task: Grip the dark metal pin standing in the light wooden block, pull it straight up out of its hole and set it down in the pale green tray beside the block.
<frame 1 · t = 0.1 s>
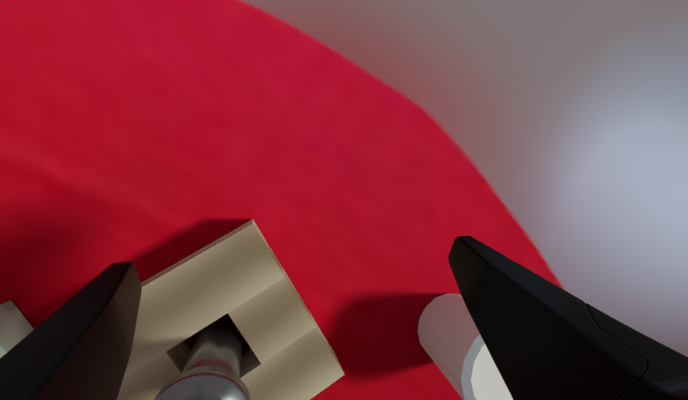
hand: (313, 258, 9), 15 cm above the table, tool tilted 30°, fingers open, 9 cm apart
pin: (212, 371, 19), in the hole block
cup: (446, 325, 28), on the table
hole block: (220, 336, 23), on the table
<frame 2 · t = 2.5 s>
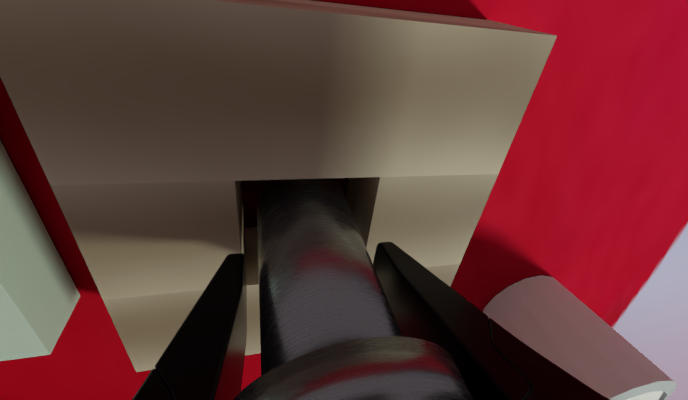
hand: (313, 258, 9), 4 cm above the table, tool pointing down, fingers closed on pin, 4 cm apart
pin: (315, 270, 9), in the hole block, touching gripper
cup: (517, 302, 22), on the table
hole block: (296, 183, 12), on the table
when the fingers open (6 cm above the table, at t = 7.7 s): pin drops 1 cm, resting on tray.
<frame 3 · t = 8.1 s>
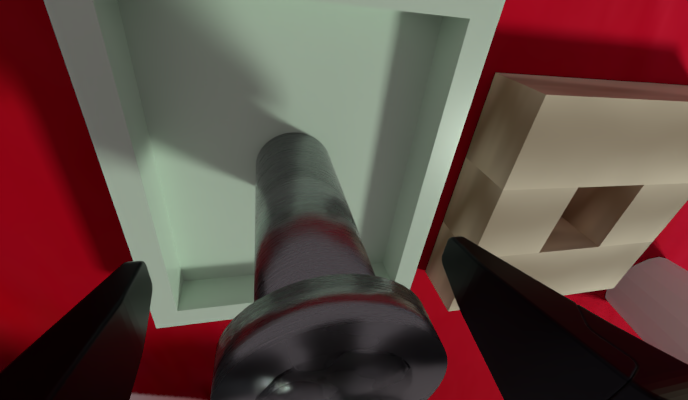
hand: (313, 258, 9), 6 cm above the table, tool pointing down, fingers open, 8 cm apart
pin: (307, 239, 10), in the tray, point 5 cm above the table
cup: (633, 279, 28), on the table
hole block: (546, 187, 19), on the table
tray: (291, 158, 14), on the table
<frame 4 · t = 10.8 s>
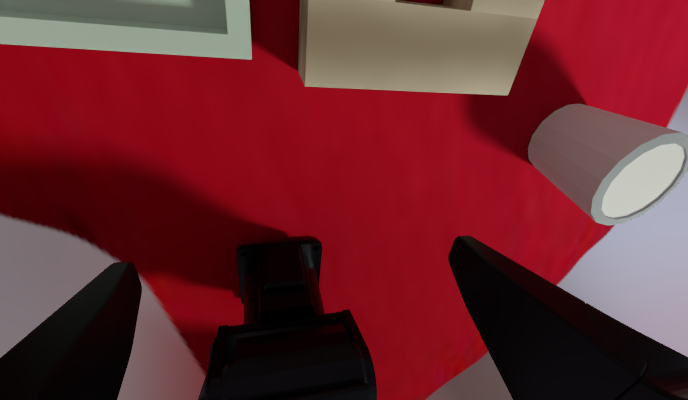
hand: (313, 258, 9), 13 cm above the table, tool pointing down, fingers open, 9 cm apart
cup: (558, 137, 26), on the table
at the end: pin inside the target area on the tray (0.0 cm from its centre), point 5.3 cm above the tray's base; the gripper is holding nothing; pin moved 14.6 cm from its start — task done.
